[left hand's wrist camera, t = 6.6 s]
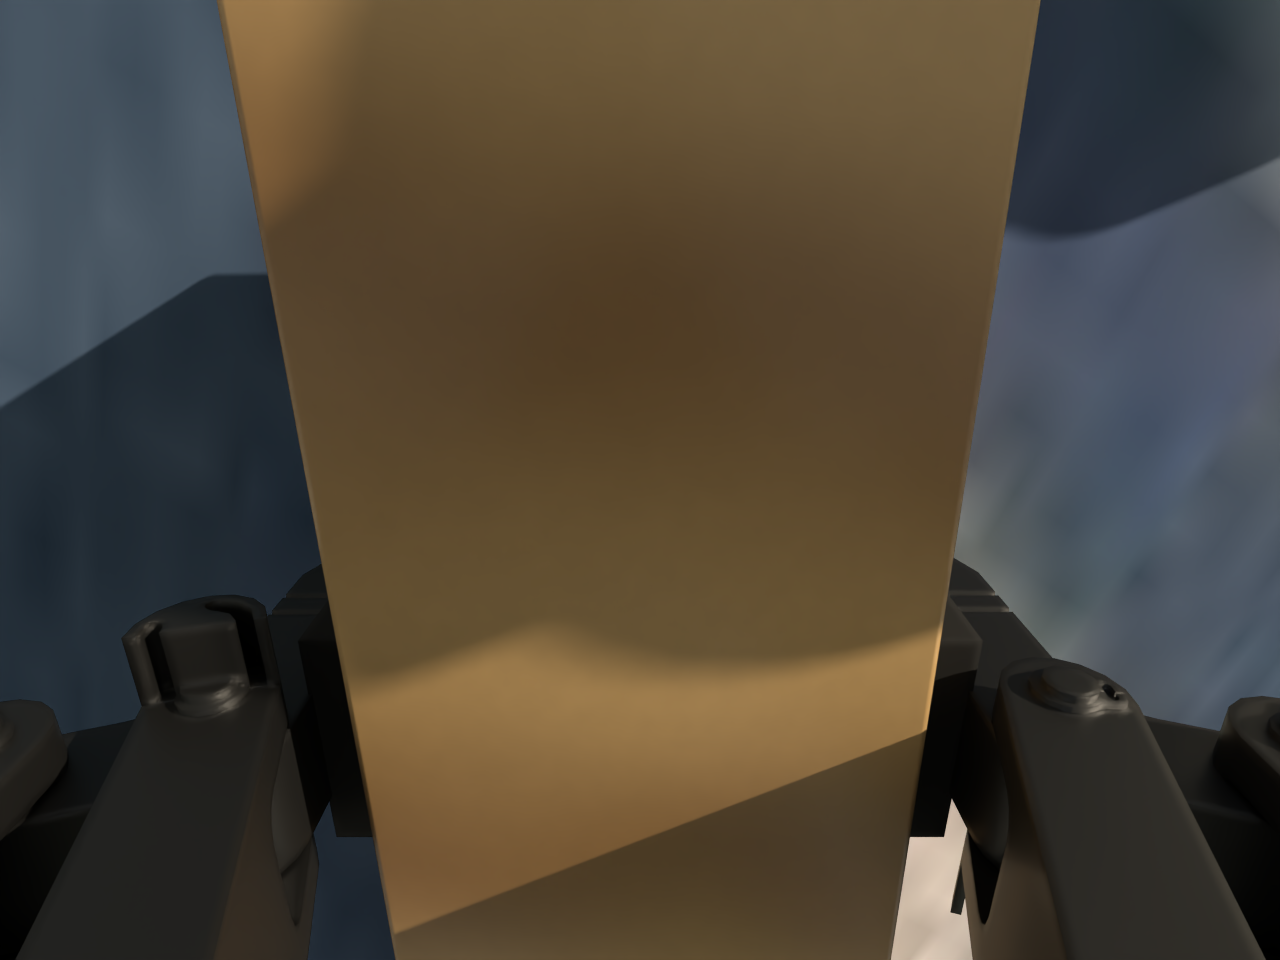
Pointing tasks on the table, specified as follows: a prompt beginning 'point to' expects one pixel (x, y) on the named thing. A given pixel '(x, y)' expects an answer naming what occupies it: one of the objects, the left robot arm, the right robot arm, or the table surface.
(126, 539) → the table surface
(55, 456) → the table surface
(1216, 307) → the table surface
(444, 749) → the post
